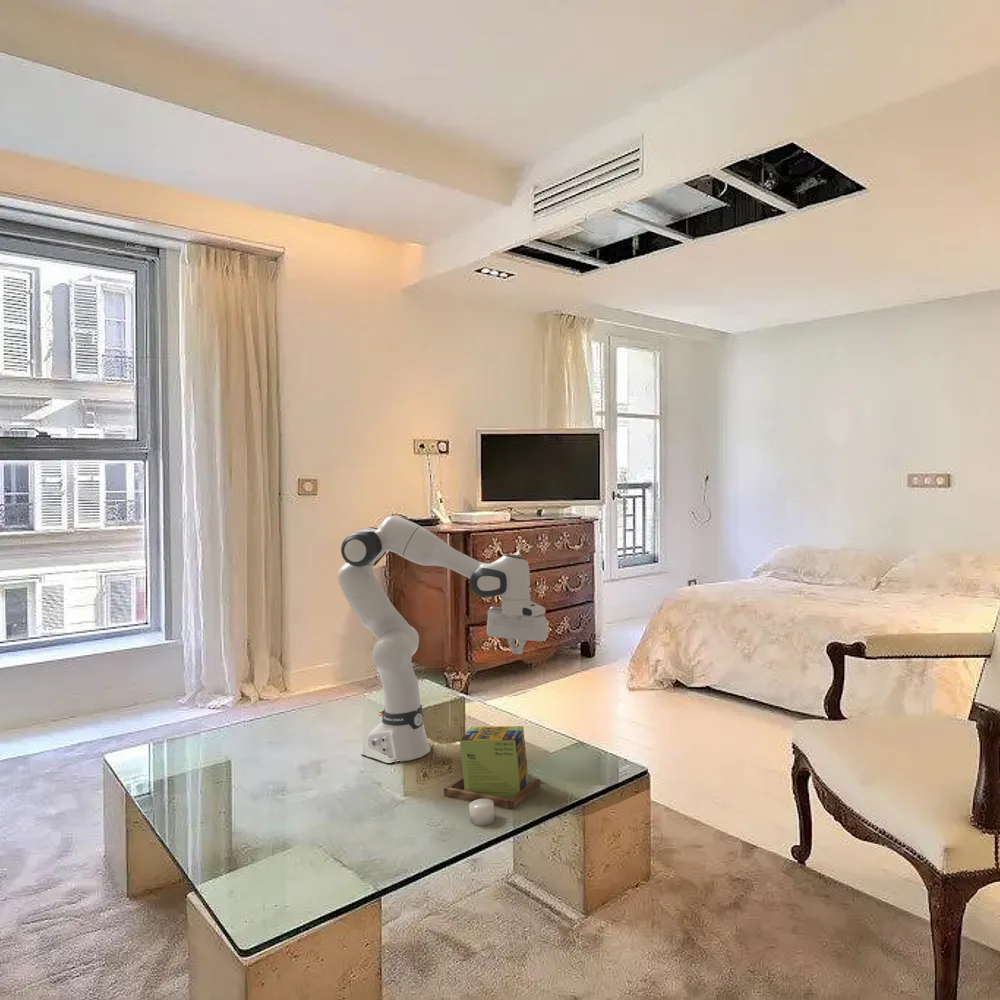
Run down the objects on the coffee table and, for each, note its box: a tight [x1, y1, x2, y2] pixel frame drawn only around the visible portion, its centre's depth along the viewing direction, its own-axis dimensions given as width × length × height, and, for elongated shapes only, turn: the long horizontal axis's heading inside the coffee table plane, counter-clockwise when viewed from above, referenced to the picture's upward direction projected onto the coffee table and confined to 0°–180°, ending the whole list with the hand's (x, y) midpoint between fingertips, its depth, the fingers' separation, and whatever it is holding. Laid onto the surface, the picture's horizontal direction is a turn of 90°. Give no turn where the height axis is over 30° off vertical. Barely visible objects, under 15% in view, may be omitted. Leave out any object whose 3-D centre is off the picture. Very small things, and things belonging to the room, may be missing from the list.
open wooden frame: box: [443, 775, 541, 810], centre depth 196 cm, size 21×14×2 cm, turn 57°
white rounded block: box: [468, 799, 496, 827], centre depth 180 cm, size 6×6×4 cm
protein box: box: [459, 725, 530, 799], centre depth 196 cm, size 10×15×16 cm
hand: (517, 653), depth 223 cm, fingers closed
